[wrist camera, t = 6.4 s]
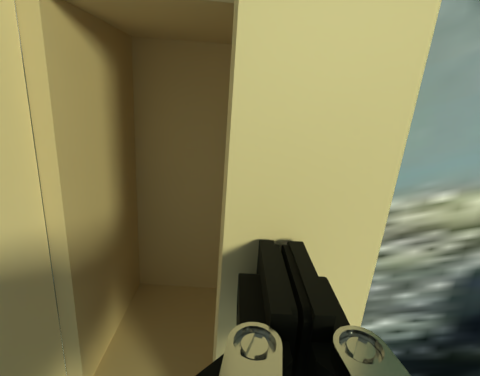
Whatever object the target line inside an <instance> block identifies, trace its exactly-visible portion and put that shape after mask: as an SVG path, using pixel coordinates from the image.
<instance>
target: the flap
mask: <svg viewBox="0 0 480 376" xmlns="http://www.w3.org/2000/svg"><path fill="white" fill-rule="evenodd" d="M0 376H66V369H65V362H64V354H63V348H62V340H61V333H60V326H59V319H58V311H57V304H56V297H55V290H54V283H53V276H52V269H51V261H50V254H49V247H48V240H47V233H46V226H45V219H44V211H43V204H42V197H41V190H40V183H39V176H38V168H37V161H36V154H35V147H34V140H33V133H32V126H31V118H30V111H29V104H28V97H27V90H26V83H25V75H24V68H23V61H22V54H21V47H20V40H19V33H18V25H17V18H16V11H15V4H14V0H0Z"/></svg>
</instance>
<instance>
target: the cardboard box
mask: <svg viewBox="0 0 480 376" xmlns="http://www.w3.org/2000/svg"><path fill="white" fill-rule="evenodd" d="M15 4H16V11H17V18H18V26H19V33H20V40H21V47H22V54H23V62H24V69H25V76H26V83H27V90H28V98H29V105H30V112H31V119H32V126H33V134H34V141H35V148H36V155H37V162H38V170H39V177H40V184H41V191H42V198H43V206H44V213H45V220H46V227H47V234H48V241H49V249H50V256H51V263H52V270H53V277H54V285H55V292H56V299H57V306H58V313H59V321H60V328H61V335H62V342H63V349H64V357H65V364H66V371H67V376H196V375H197V374H198V373H199V372H201V371H202V370H203V369H205V368H206V367H207V366H208V365H210V364H211V363H212V362H213V347H214V330H215V314H216V297H217V281H218V264H219V247H220V231H221V214H222V198H223V181H224V165H225V148H226V132H227V115H228V99H229V82H230V65H231V49H232V32H233V16H234V0H15Z"/></svg>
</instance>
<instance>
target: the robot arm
mask: <svg viewBox="0 0 480 376" xmlns="http://www.w3.org/2000/svg"><path fill="white" fill-rule="evenodd" d="M196 376H411V375H410V374H409V373H408V371H407V370H406V369H405V367H404V366H403V365H402V364H401V362H400V361H399V360H398V358H397V357H396V356H395V355H394V353H393V352H392V351H391V349H390V348H389V347H388V346H387V344H386V343H385V342H384V341H383V340H382V339H381V338H380V337H379V336H377V335H376V334H375V333H373V332H372V331H369V330H367V329H365V328H362V327H358V326H350V324H349V322H348V320H347V318H346V315H345V313H344V311H343V309H342V307H341V305H340V303H339V301H338V299H337V297H336V295H335V293H334V291H333V289H332V287H331V285H330V283H329V281H328V279H327V278H326V277H321V276H318V274H317V272H316V270H315V268H314V265H313V263H312V261H311V259H310V256H309V254H308V252H307V250H306V247H305V245H304V243H303V242H302V241H288V242H287V245H286V244H282V248H281V249H280V245H279V244H275V243H274V240H259V248H258V260H257V272H256V274H248V273H239V274H238V289H237V316H236V327H235V328H234V329H233V330H232V331H231V332H230V334H229V336H228V339H227V343H226V348H225V352H224V354H223V355H221V356H220V357H219V358H218V359H216V360H215V361H214V362H212V363H211V364H210V365H208V366H207V367H206V368H205V369H203V370H202V371H201V372H199V373H198V374H197V375H196Z"/></svg>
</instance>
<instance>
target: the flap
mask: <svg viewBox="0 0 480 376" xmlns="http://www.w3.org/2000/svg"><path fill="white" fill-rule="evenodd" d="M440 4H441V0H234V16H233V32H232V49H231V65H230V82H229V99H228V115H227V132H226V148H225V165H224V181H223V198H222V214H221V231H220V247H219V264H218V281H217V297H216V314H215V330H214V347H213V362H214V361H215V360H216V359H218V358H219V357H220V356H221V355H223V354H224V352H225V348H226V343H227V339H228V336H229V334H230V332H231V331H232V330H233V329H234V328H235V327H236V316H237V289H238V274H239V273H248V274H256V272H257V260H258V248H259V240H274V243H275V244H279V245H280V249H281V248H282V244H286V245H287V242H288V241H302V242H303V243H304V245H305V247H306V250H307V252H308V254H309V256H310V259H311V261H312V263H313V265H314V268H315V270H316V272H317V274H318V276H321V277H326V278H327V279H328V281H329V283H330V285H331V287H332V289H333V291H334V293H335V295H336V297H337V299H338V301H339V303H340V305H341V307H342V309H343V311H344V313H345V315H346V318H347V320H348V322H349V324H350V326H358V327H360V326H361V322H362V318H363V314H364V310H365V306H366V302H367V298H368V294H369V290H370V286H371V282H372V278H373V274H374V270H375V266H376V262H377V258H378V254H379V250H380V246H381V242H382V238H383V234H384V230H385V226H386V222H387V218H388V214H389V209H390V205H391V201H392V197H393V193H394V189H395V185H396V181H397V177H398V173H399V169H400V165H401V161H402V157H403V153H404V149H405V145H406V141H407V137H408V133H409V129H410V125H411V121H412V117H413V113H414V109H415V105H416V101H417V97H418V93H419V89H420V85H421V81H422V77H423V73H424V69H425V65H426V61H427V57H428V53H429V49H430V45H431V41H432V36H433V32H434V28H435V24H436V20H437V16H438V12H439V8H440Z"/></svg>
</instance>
